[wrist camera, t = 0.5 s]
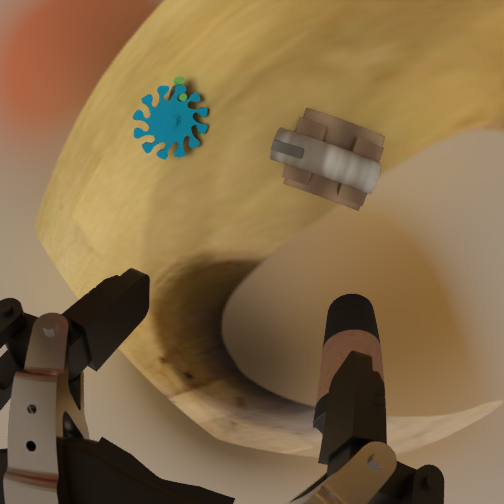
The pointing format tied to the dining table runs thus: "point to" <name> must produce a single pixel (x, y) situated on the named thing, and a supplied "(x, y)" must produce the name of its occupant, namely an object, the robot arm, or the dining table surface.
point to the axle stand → (330, 158)
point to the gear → (171, 119)
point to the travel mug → (346, 344)
